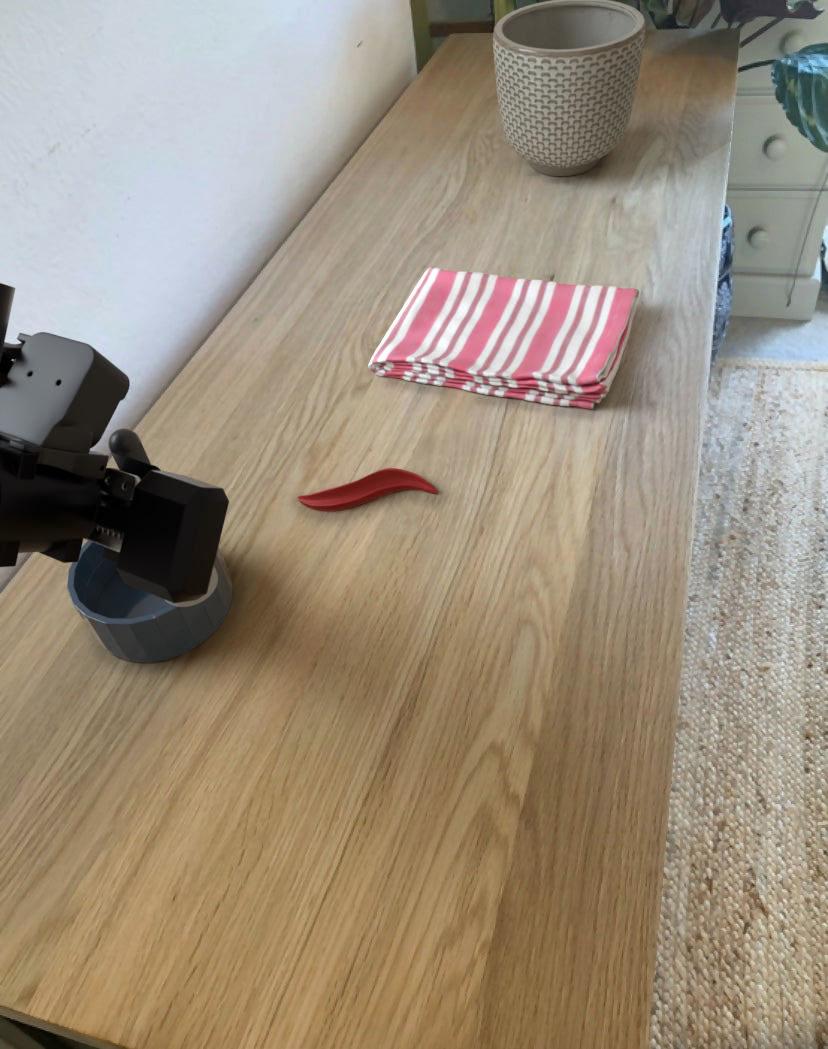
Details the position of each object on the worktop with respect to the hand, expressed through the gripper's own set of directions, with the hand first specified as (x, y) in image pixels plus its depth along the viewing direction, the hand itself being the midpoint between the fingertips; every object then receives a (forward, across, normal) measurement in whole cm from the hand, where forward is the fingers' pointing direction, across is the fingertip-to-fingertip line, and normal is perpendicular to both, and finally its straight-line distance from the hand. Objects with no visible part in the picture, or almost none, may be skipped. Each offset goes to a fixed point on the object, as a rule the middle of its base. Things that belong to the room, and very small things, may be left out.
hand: (170, 501), depth 55 cm
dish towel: (+38, -6, -19) cm, 42 cm away
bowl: (+9, +6, +10) cm, 15 cm away
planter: (+64, +2, -45) cm, 78 cm away
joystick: (+4, 0, +6) cm, 7 cm away
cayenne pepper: (+21, -3, -2) cm, 21 cm away
